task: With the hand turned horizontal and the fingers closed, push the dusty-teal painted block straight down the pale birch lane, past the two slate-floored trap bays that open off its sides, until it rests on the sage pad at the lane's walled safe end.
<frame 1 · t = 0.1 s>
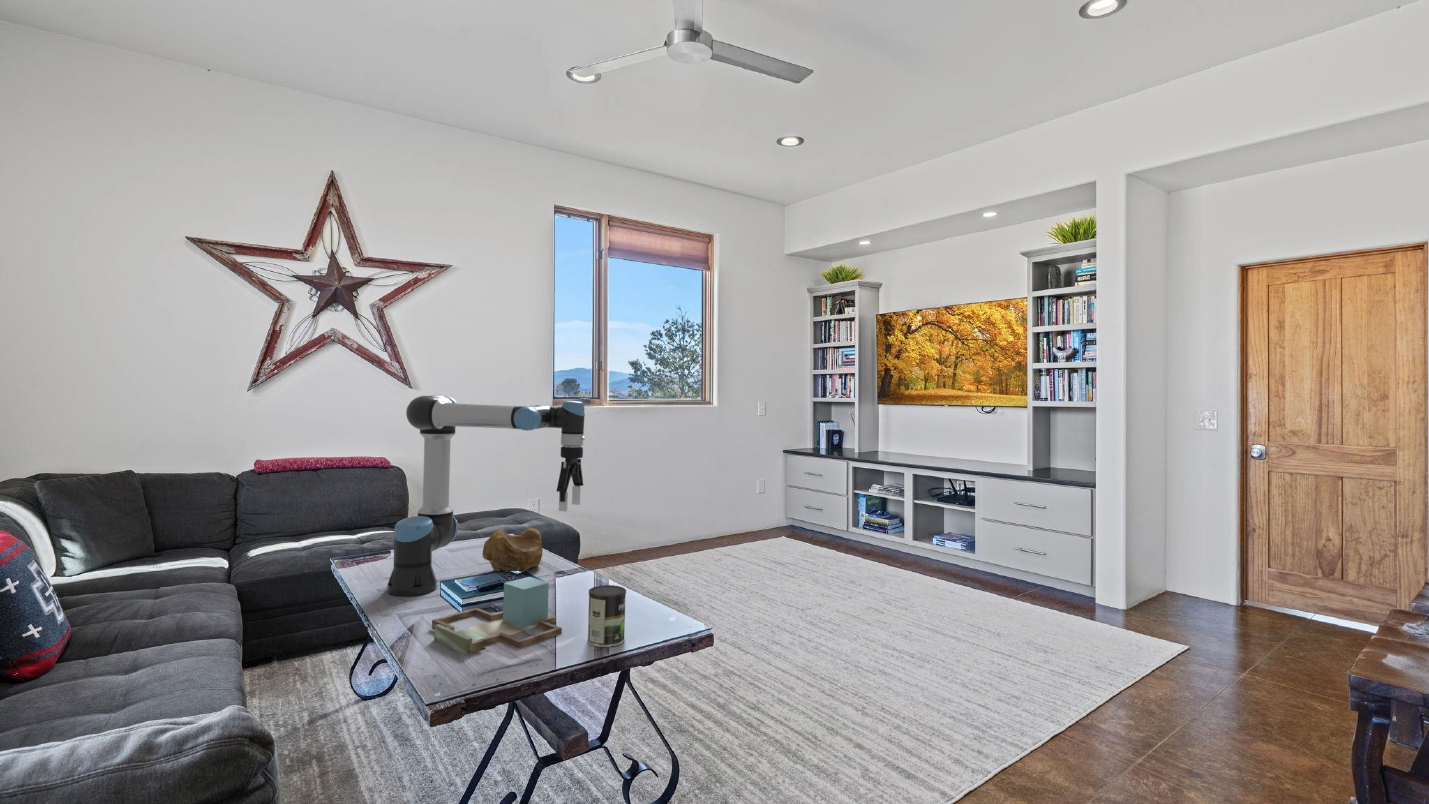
hand: (569, 507, 235), 28 cm above the table, tool pointing down, fingers open, 13 cm apart
trap lane: (499, 631, 193), on the table
rough brown rock: (517, 571, 255), on the table
teal block: (525, 620, 200), point 1 cm above the table, touching trap lane
coffee can: (605, 641, 189), on the table
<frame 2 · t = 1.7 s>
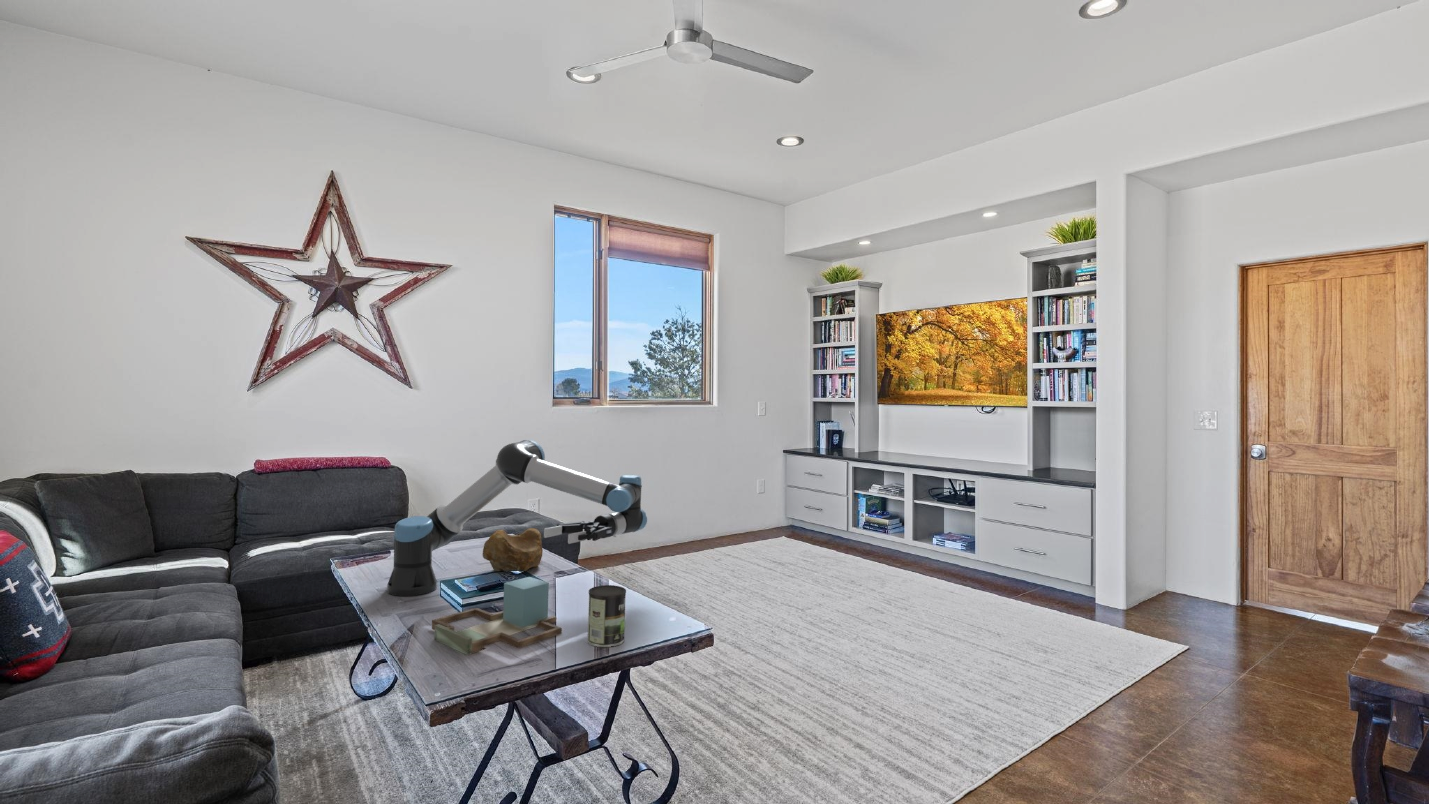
hand: (556, 536, 208), 24 cm above the table, tool horizontal, fingers open, 10 cm apart
nothing on the table moved.
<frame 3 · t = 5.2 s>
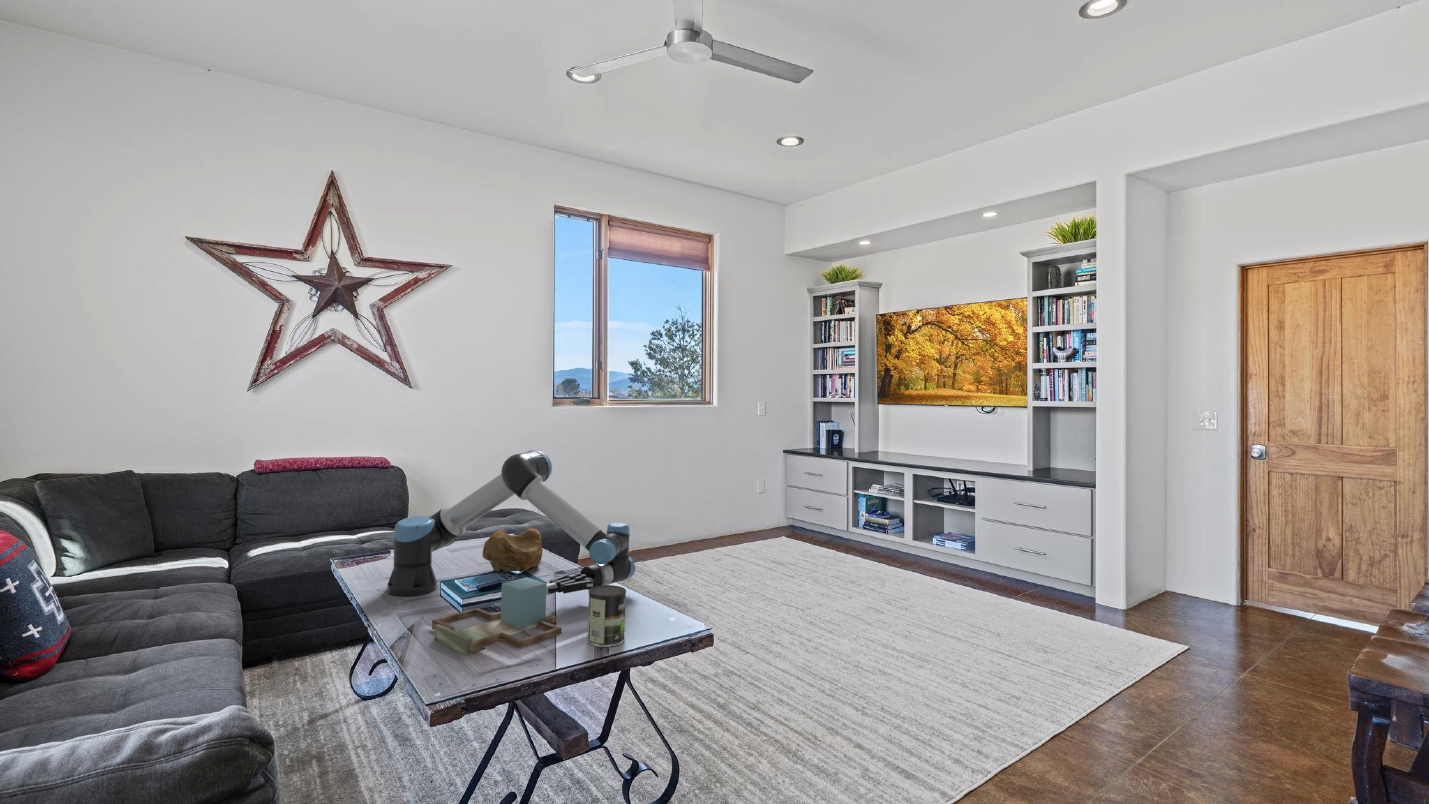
hand: (537, 592, 203), 8 cm above the table, tool horizontal, fingers closed
teal block: (523, 620, 199), point 1 cm above the table
everything else where it was.
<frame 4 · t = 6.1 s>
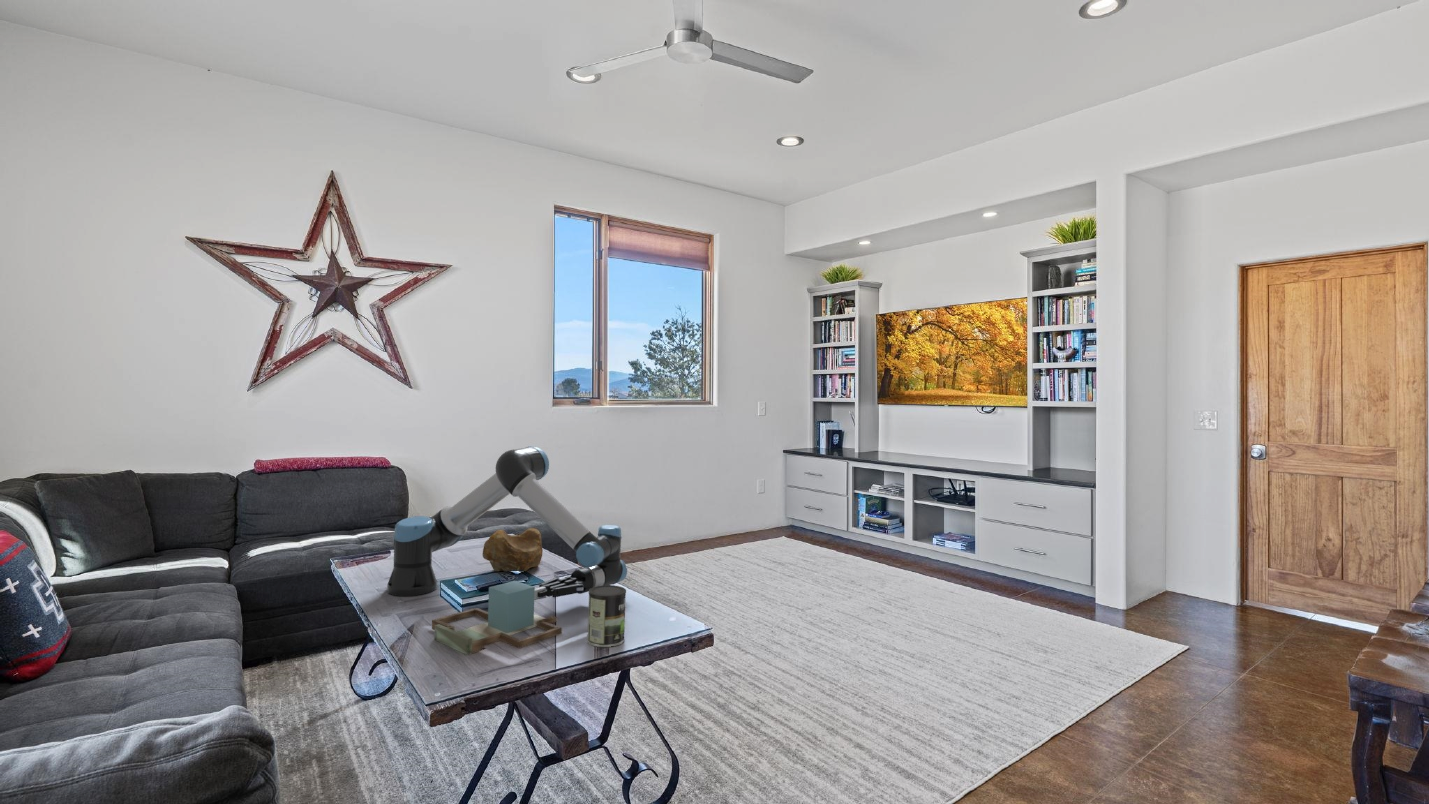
hand: (526, 596, 199), 8 cm above the table, tool horizontal, fingers closed
teal block: (510, 625, 196), point 1 cm above the table, touching gripper, trap lane
everything else where it was.
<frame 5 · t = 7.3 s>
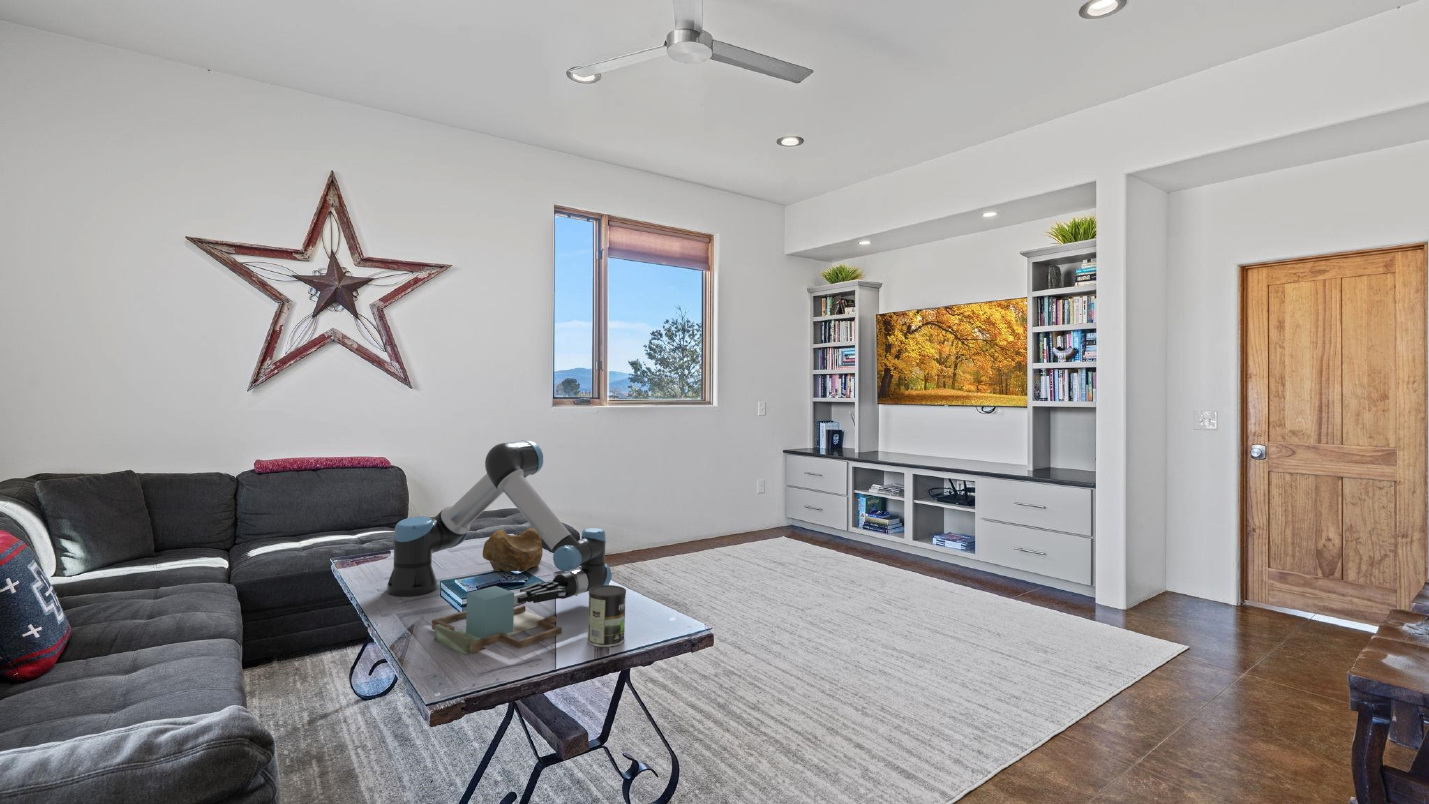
hand: (506, 602, 193), 8 cm above the table, tool horizontal, fingers closed
teal block: (489, 631, 190), point 1 cm above the table, touching gripper
everything else where it was.
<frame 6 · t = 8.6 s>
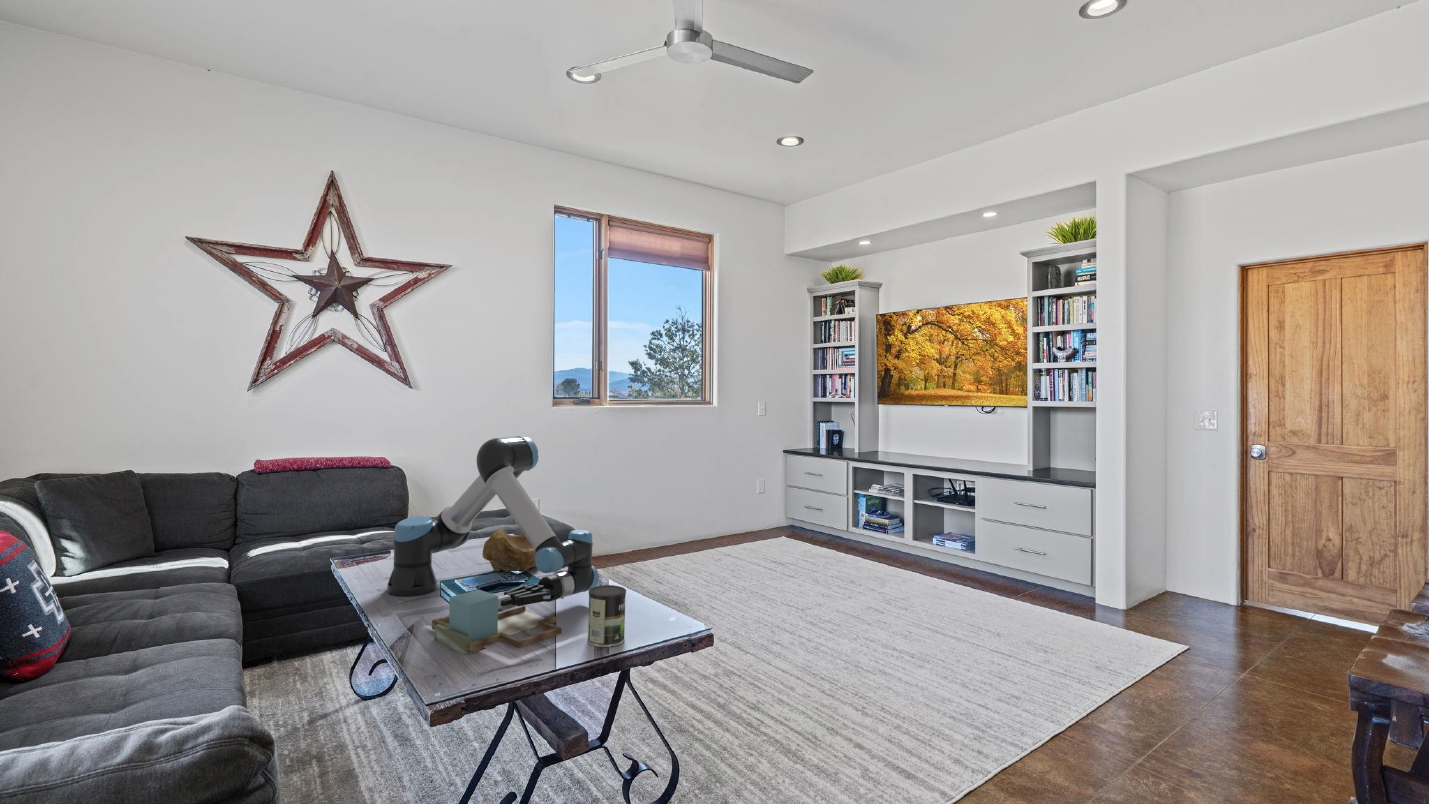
hand: (489, 605, 190), 8 cm above the table, tool horizontal, fingers closed
teal block: (473, 636, 186), point 1 cm above the table, touching trap lane
everything else where it was.
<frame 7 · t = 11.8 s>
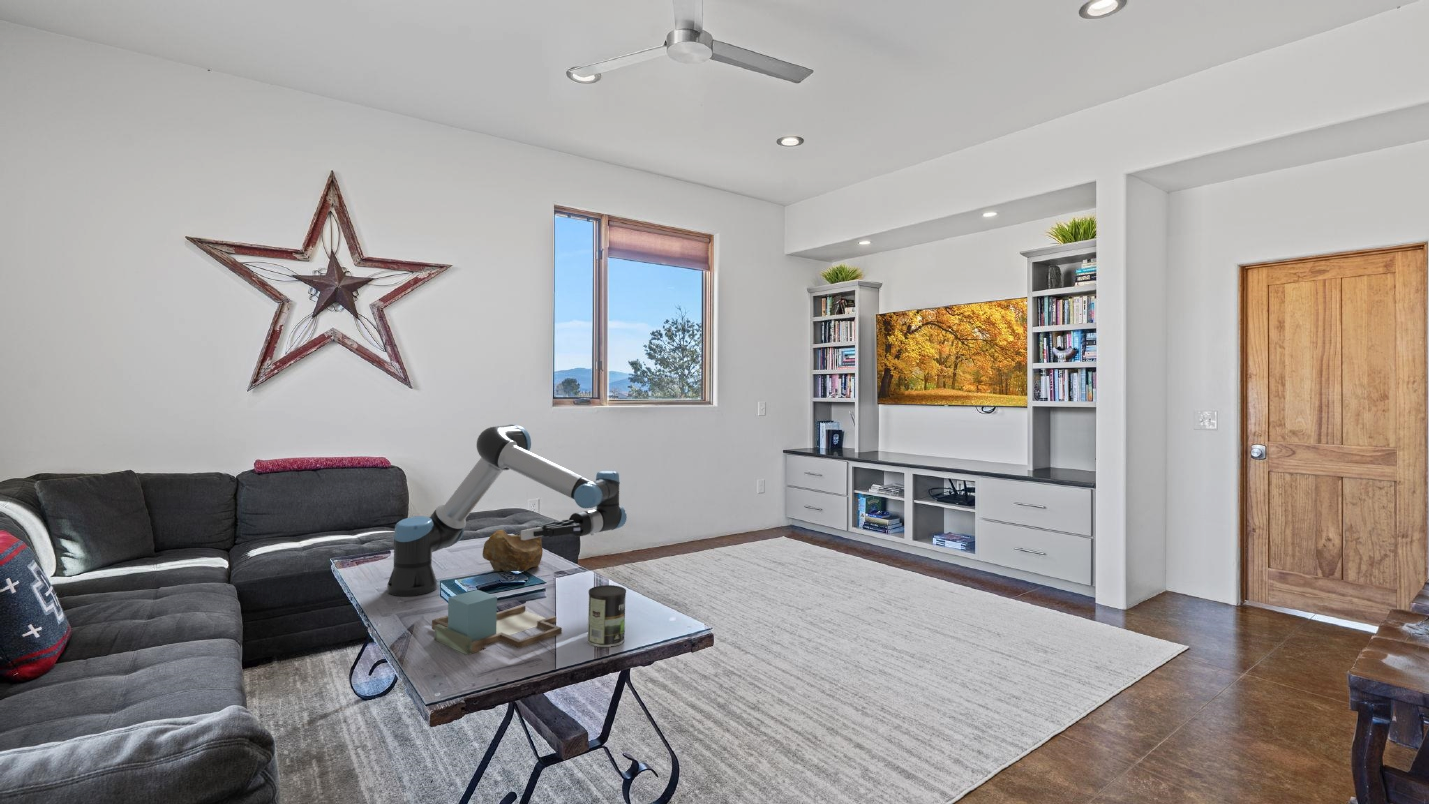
hand: (522, 535, 199), 26 cm above the table, tool horizontal, fingers closed
nothing on the table moved.
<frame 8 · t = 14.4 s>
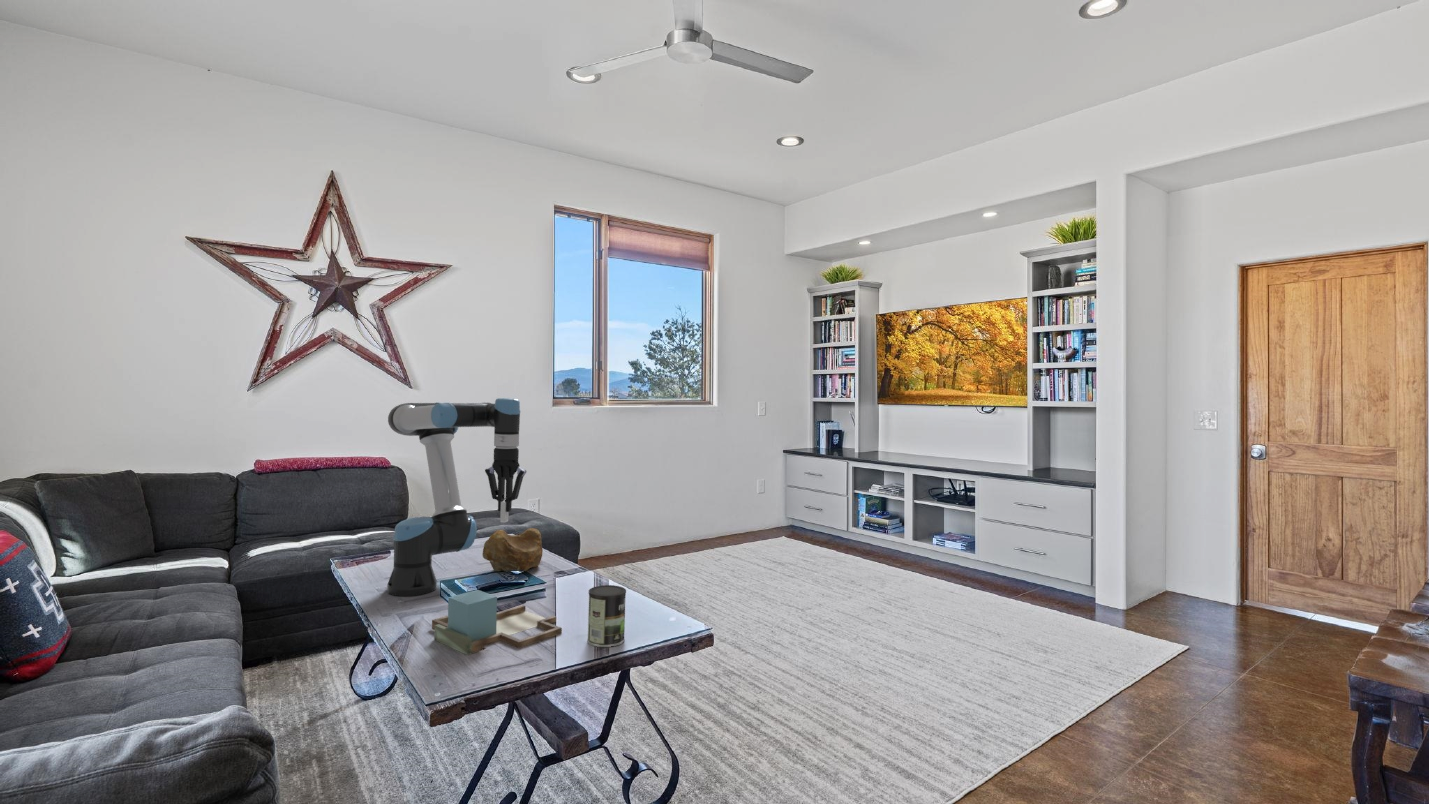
hand: (504, 521, 215), 26 cm above the table, tool pointing down, fingers closed
nothing on the table moved.
at the end: teal block inside the target area (0.3 cm from its centre), point 1.0 cm above the table; teal block tilted 0° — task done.
